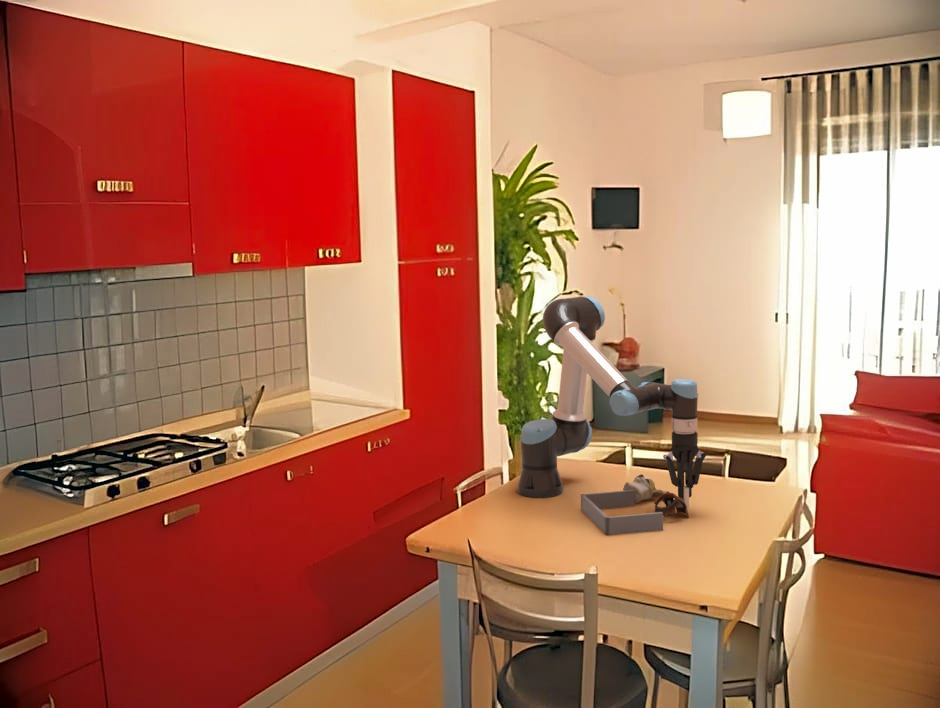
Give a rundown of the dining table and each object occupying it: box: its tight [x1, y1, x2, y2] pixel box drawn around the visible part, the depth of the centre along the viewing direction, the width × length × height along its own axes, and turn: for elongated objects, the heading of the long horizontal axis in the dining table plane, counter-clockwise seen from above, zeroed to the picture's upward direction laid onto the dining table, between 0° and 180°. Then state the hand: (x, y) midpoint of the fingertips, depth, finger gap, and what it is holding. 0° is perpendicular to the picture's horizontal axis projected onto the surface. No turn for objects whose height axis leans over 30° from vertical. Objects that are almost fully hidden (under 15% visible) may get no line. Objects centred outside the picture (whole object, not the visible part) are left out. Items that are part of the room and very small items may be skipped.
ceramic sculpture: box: [622, 474, 670, 504], centre depth 278 cm, size 11×9×15 cm
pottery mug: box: [653, 491, 690, 519], centre depth 261 cm, size 12×10×8 cm
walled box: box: [580, 490, 664, 536], centre depth 260 cm, size 24×17×5 cm
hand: (684, 507), depth 263 cm, fingers closed
